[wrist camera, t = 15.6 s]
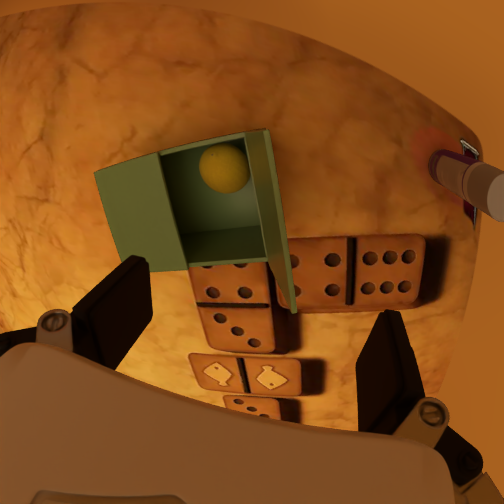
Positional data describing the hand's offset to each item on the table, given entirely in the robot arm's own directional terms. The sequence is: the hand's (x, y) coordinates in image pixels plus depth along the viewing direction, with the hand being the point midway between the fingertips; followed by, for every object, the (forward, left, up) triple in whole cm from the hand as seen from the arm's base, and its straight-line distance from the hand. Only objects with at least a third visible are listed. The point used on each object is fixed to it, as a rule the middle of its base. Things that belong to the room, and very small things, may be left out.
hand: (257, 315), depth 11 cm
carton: (+8, -9, -28) cm, 31 cm away
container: (-13, +15, -28) cm, 35 cm away
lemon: (+5, -6, -27) cm, 28 cm away
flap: (+1, -1, -13) cm, 13 cm away
